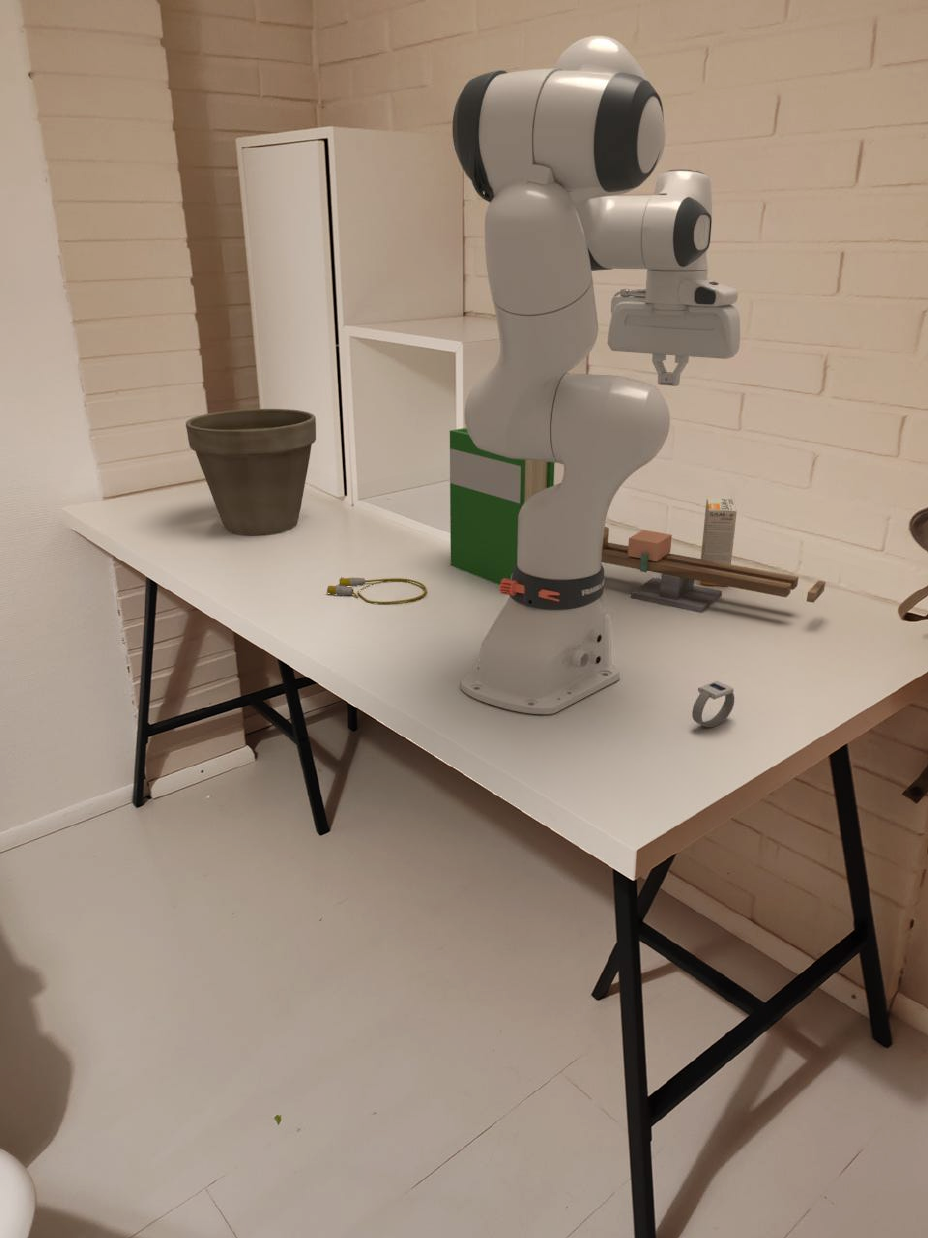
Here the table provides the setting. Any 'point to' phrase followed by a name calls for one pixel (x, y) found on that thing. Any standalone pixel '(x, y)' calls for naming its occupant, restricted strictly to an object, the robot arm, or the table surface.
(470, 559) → the hardback book
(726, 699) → the wristwatch
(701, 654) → the table surface
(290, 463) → the plant pot
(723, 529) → the supplement box
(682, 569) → the balance scale
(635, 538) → the block
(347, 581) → the extension cord
